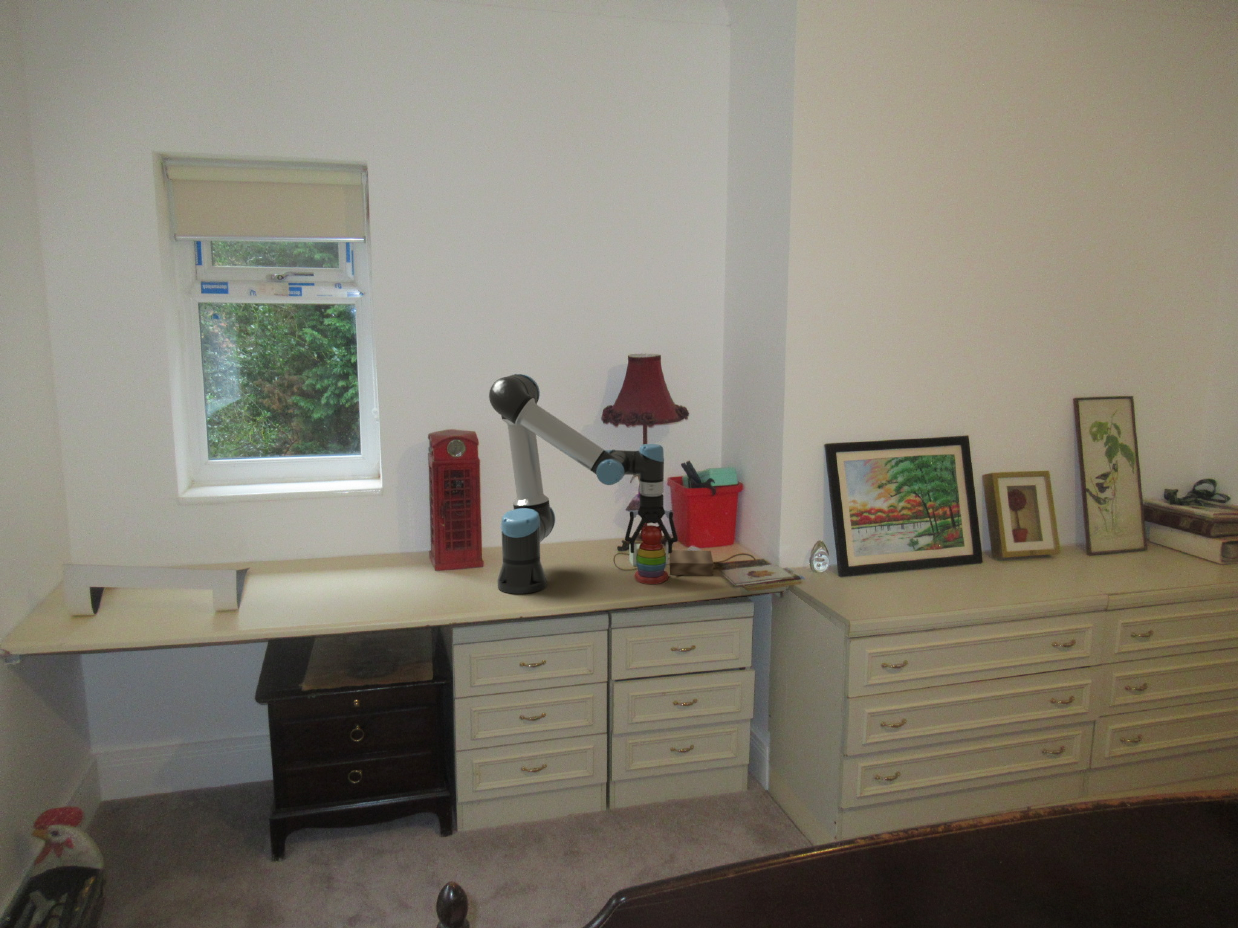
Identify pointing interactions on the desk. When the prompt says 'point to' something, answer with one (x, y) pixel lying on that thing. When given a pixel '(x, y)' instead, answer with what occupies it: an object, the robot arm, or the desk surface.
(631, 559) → the block
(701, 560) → the base slab
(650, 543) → the stacking bear
